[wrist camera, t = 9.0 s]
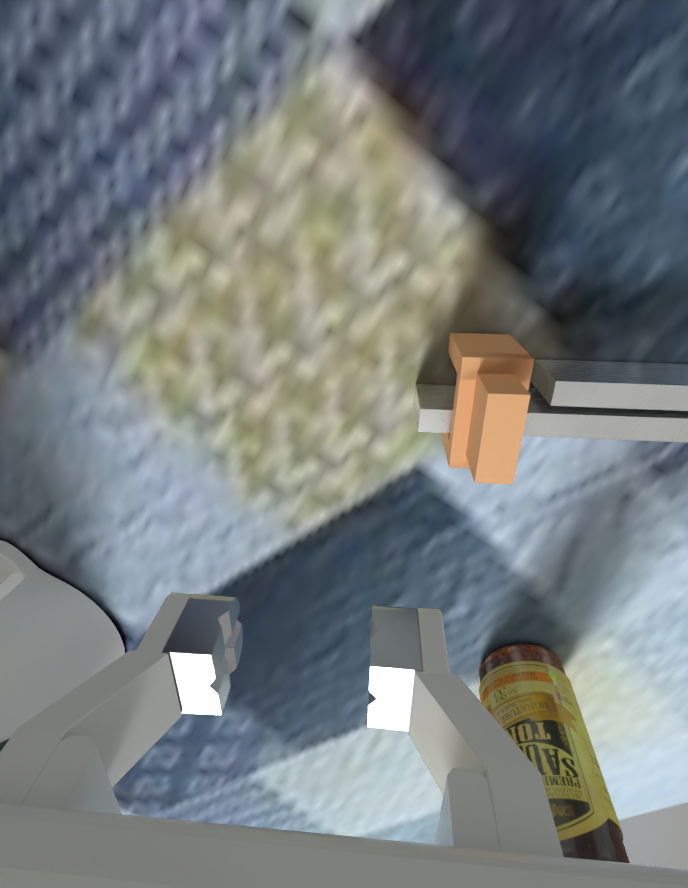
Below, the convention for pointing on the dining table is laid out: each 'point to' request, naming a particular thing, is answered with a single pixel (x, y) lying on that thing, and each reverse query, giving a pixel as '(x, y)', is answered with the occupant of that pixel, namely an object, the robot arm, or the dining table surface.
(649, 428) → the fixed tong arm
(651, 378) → the bar
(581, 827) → the sauce bottle
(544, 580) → the dining table surface
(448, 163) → the dining table surface
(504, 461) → the collar
